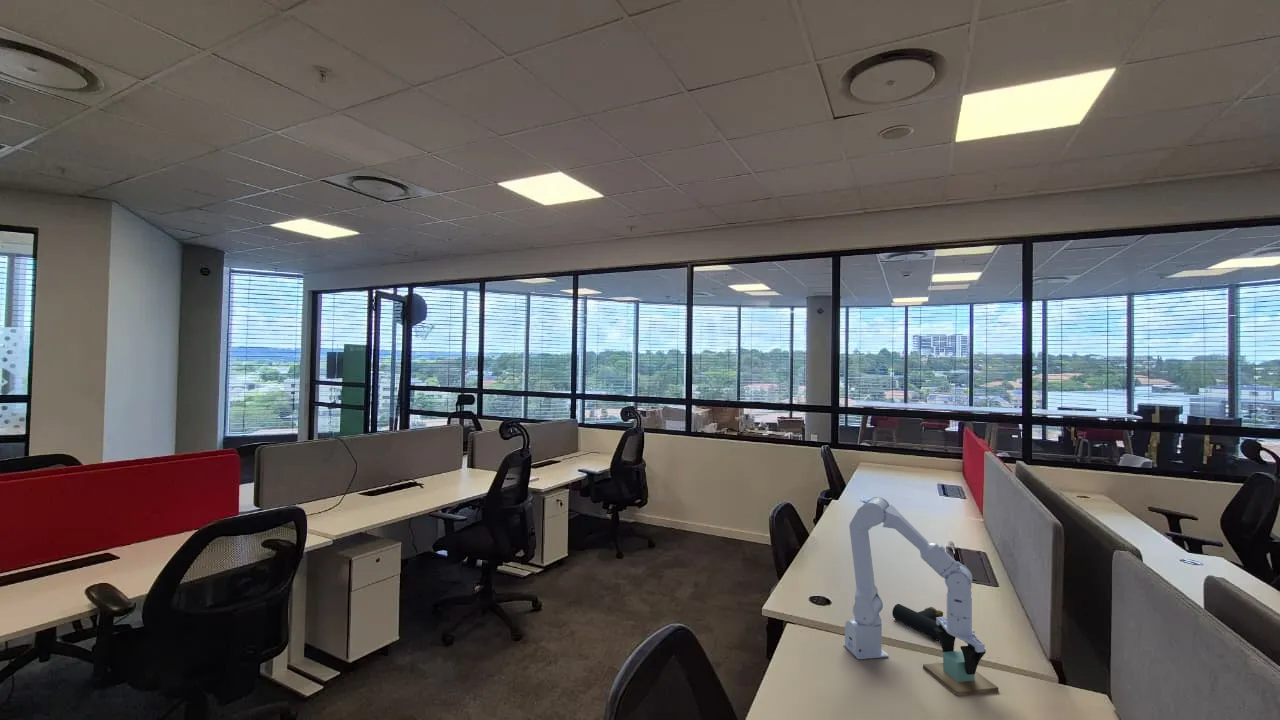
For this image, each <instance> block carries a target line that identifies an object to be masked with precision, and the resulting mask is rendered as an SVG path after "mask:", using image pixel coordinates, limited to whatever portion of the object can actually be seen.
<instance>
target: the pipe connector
mask: <svg viewBox="0 0 1280 720" xmlns="http://www.w3.org/2000/svg"><path fill="white" fill-rule="evenodd" d="M891 611H892V618H893V619H894V618H895V619H894V620H896V619H897V620H896V621H898V620H899V621H898V622H900V621H901V622H900V623H902V624H904V625H905V626H908V627H909V628H912V629H914V630H916V631H918V632H920V633H921V634H924V635H925V636H927V637H929V638H931V637H932V638H931V639H933V638H934V639H933V640H935V639H936V640H935V641H937V640H939V638H938V636H937V634H936V632H935V628H939V626H938V625H937V624H936V617H944V612H943V611H941V610H938V609H936V608H935V607H932V606H930V607H926V608H924V610H920V611H918V612H917V611H915V610H914V609H911V608H909V607H907V606H904V605H902V604H900V603H896V604H895V605H894V606H893V608H892V610H891Z"/></svg>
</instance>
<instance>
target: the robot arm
mask: <svg viewBox="0 0 1280 720" xmlns="http://www.w3.org/2000/svg"><path fill="white" fill-rule="evenodd" d="M882 523H883V525H882V527H883V528H888V529H893V530H896V531H897V532H898V533H899V534H901V536H903V537H904V538H905V540H907V541H908V542H910V543H911V544H912V545H913V546H914V547H916V549H918V550H919V553H920V558H921V559H922V560H923V561H924V562H925V563H926V564H927V565H928V566H929V567H931V569H932V570H934V572H936V573H937V574H938V575H939V576H940V577H941V578H943V579H944V583H945V586H946V587H947V592H946V618H945V617H944V616H942V617H936V624H937V625H938V626H939V628H935V632H936V634H937V636H938V638H939V640H940V641H939V643H940V646H941V649H942V650H941V651H942V653H943V652H951V651H955V642H956V639H959V640H960V641H963V642H964V643H966V644H967V645H961V646H960V647H959V648H960V651H961V652H962V653H963V656H964V661H965V671H966V674H968V675H972V674H975V672H977V668H978V665H979V662H980V661H981V660H982V658H983V656H984V655H985V654H986V652H987V651H986V650H987V649H985V643H983V642H982V641H981V640H980V639H979V638H978V637H977V636H976V630H974V629H973V600H972V599H973V598H972V590H971V589H972V587H973V586H972V583H973V575H972V572H971V570H970V569H969V568H968V567H967V566H966V565H965V564H962V563H961V562H960V561H958V560H957V561H956V560H955V559H954V557H952V556H951V555H950V554H949V553H948V552H946V548H945V547H944V546H943V545H942V544H941V545H939V544H938V543H937V542H929V541H928V540H927V539H926V538H925V537H924V536H923V535H922V534H921V533H920V532H919V531H918V530H917V529H916V527H915V526H913V525H912V524H911V523H910V522H909V521H908V519H906V518H905V517H904V516H903V515H902V514H901V513H900V511H899V510H898V509H897V508H896V507H895V506H893V505H892V504H890V503H889V501H887V500H886V499H885V498H883V497H882V496H873V497H872V498H870V499H868V500H867V501H866V502H865V503H864V504H863V505H862V506H860V507H859V508H858V509H857V510H856V513H854V516H853V517H852V519H851V521H850V522H849V525H848V526H849V535H850V544H851V551H852V552H851V553H852V561H853V569H854V570H853V571H854V577H855V578H854V579H855V586H856V587H855V593H854V604H853V607H852V613H853V616H854V617H853V618H851V619H850V620H846V622H845V624H844V643H843V646H844V647H845V648H846V649H847V650H848V651H849V652H850V653H851V655H854V657H855V658H856V659H858V660H867V659H879V658H888V657H889V654H888V653H887V652H885V650H883V649H882V648H883V647H882V646H883V645H882V639H883V638H882V636H883V635H882V631H883V630H882V629H883V628H882V626H883V624H882V619H881V616H880V613H881V611H882V610H883V608H884V607H883V606H884V604H883V600H882V599H881V597H880V595H879V592H878V591H879V590H878V588H877V586H876V584H875V578H874V577H875V575H874V567H873V559H872V551H871V543H870V542H871V541H870V535H869V531H870V530H871V529H872V528H873V527H877V526H878V525H880V524H882Z"/></svg>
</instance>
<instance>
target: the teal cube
mask: <svg viewBox="0 0 1280 720" xmlns="http://www.w3.org/2000/svg"><path fill="white" fill-rule="evenodd" d="M942 659H943V660H942V663H943V671H944V672H945V673H946V674H948V675H949V676H950V677H952V678H953V679H954V680H955V681H957V682H965V681H975V674H972V675H968V674H966V671H965V661H964V656H963V653H962V650H954V651H951V652H943V651H942Z"/></svg>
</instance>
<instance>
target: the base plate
mask: <svg viewBox="0 0 1280 720" xmlns="http://www.w3.org/2000/svg"><path fill="white" fill-rule="evenodd" d="M922 669H923V670H924V671H926V672H927V673H928V674H930V676H932V677H933V678H934V679H935V680H937V681H938V682H939V683H940V684H941V685H943V686H944V687H945V688H946V689H948V691H950V692H951V693H952V694H953V695H955V696H957V697H959V696H966V695H967V696H969V695H977V694H986V693H987V694H988V693H998V692H999V687H998V686H997V685H996V684H994V683H993V682H991V681H990V680H988V679H987V678H986V677H985V676H983V675H982V674H981V673H979V672H978V671H976V672H975V681H965V682H957V681H955V680H954V679H953V678H952V677H950V676H949V675H948V674H946V673H945V672H944V671H943V662H938V663H937V662H935V663H926V664H922Z"/></svg>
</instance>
